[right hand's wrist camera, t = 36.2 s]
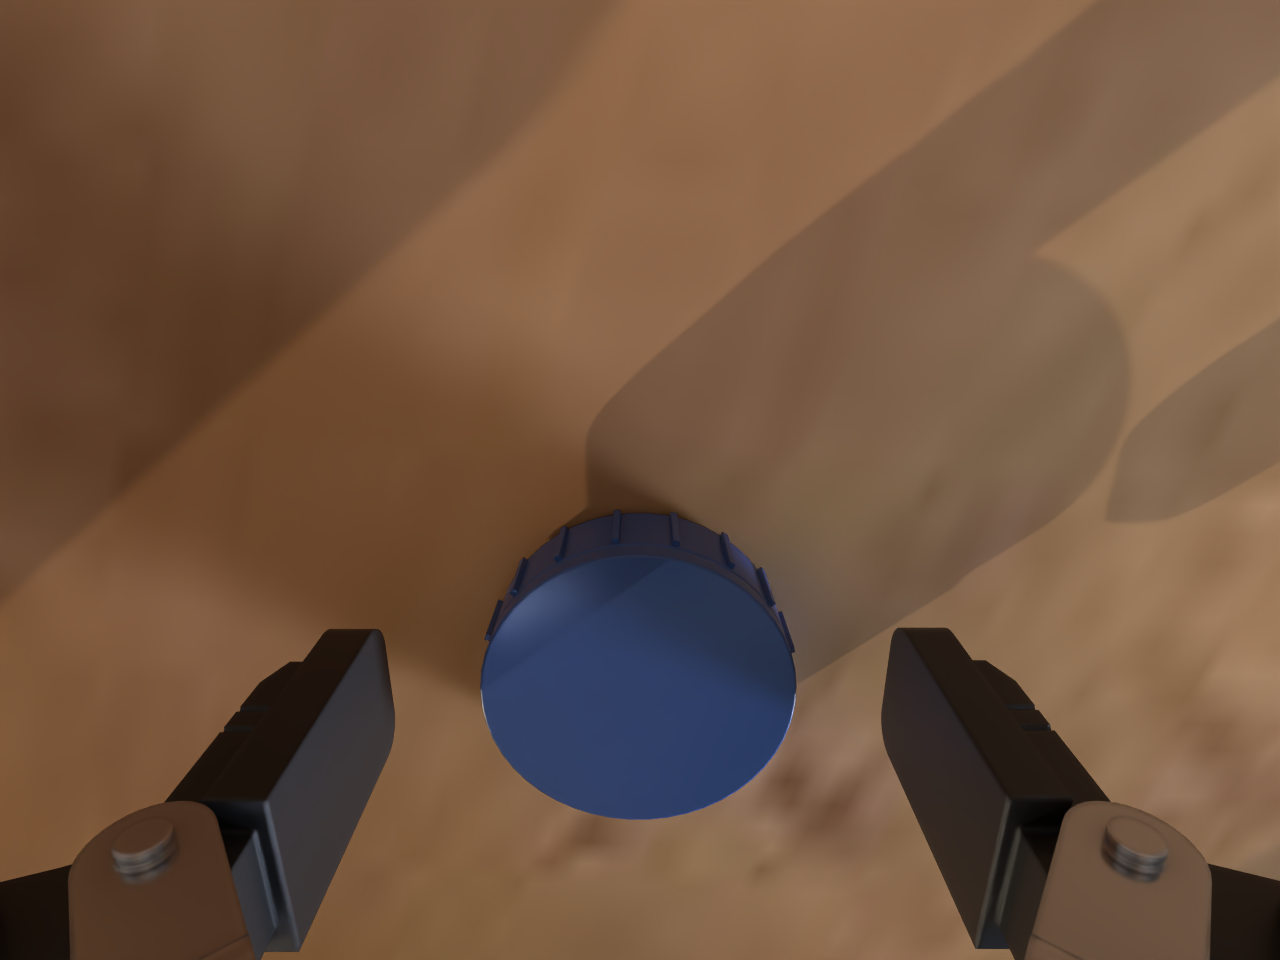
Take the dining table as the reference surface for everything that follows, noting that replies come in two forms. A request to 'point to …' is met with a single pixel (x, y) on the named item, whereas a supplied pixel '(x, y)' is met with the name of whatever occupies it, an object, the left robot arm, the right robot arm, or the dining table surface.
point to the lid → (638, 668)
